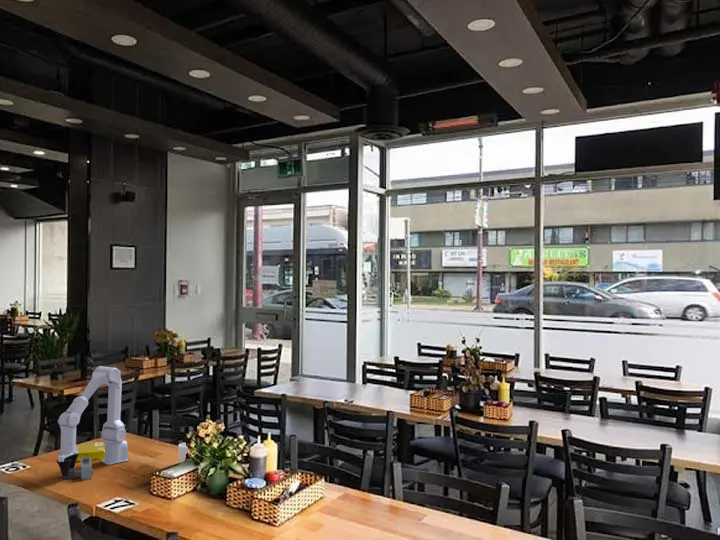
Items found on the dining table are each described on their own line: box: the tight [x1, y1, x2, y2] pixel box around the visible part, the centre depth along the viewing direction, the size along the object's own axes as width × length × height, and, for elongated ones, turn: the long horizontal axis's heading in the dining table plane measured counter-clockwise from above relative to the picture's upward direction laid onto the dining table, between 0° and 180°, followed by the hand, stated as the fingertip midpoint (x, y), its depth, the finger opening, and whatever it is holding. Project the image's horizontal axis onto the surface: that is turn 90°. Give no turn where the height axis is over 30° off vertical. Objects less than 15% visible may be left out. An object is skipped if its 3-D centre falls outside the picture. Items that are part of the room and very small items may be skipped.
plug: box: [60, 467, 94, 480], centre depth 247 cm, size 12×4×3 cm, turn 111°
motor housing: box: [79, 456, 93, 481], centre depth 249 cm, size 4×12×6 cm, turn 27°
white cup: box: [177, 442, 188, 464], centre depth 262 cm, size 8×8×10 cm
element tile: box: [75, 441, 105, 463], centre depth 275 cm, size 15×15×5 cm
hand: (67, 473), depth 246 cm, fingers closed on plug, 5 cm apart
